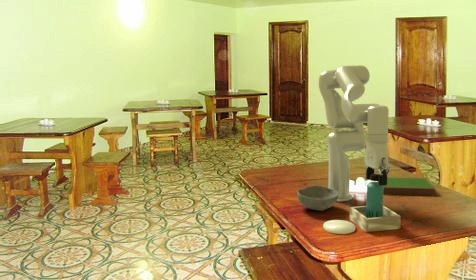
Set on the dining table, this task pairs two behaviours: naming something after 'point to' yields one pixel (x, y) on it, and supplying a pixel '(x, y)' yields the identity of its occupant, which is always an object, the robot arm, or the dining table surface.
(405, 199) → the dining table surface
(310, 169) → the dining table surface
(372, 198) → the beverage bottle
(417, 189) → the hardcover book
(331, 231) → the plate
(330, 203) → the bowl
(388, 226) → the wooden frame
